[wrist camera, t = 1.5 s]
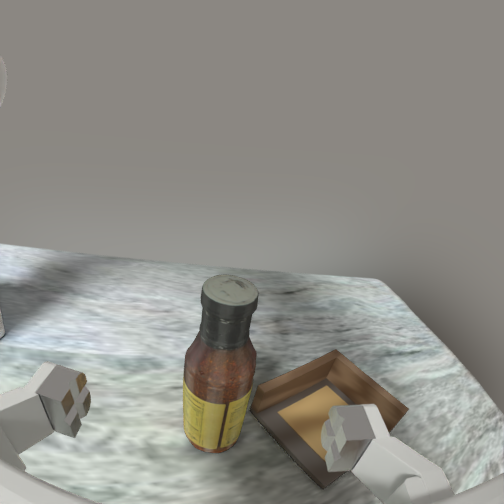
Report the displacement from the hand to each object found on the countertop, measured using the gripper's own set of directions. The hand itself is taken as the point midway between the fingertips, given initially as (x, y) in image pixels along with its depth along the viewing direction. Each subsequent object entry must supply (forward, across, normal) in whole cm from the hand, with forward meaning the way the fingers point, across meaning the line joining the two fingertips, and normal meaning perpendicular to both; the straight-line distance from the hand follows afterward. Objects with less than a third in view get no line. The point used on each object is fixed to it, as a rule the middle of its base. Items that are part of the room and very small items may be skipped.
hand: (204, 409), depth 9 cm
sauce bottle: (+16, 0, +21) cm, 26 cm away
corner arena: (+18, -14, +22) cm, 32 cm away
